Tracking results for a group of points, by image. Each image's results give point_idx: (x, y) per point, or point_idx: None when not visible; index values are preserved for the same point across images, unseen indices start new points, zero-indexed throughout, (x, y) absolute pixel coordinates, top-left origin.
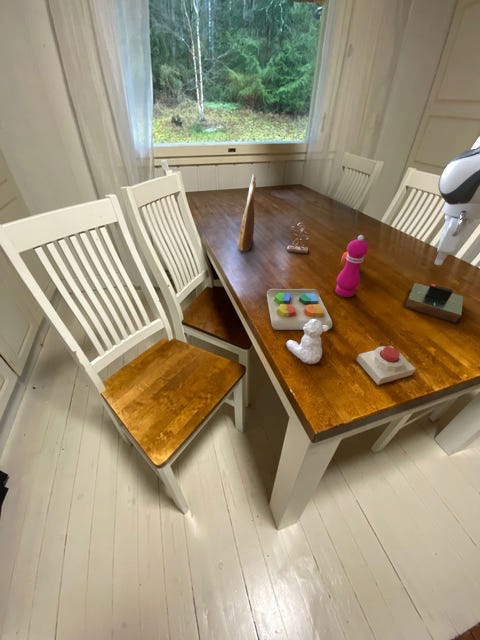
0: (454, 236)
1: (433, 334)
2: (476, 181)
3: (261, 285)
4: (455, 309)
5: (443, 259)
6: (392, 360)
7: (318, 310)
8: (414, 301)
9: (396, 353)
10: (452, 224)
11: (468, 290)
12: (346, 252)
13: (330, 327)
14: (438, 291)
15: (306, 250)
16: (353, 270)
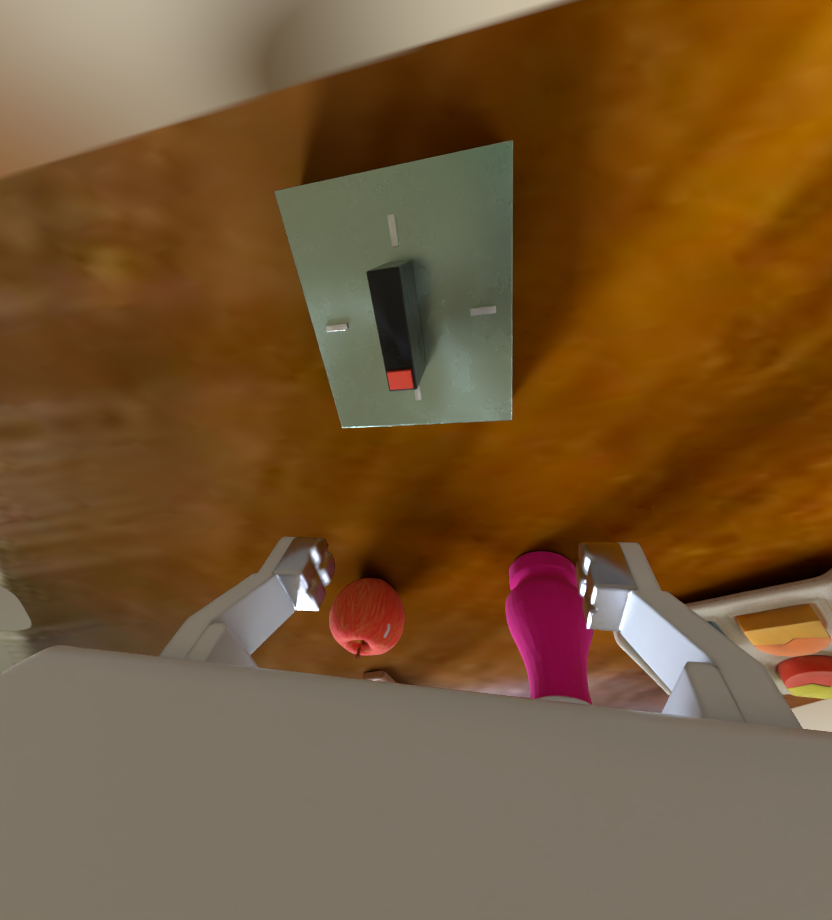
0: (173, 658)
1: (702, 230)
2: None
3: (639, 707)
4: (468, 192)
5: (665, 596)
6: None
7: (801, 632)
8: (511, 393)
9: None
10: None
11: (116, 183)
12: (371, 654)
13: None
14: (412, 335)
15: (382, 680)
16: (583, 667)
